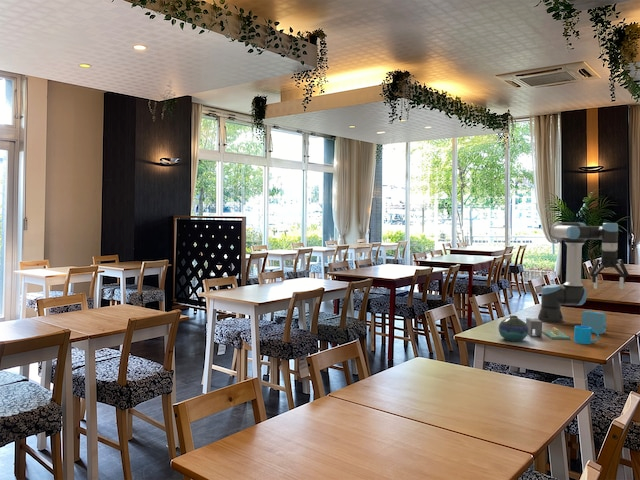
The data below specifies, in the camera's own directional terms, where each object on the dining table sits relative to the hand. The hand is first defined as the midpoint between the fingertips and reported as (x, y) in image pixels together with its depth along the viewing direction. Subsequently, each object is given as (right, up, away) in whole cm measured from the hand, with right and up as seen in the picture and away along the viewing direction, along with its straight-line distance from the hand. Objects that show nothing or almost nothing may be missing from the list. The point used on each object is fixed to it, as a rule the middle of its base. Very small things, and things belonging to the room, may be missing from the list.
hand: (608, 288), depth 276 cm
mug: (-16, -29, -8) cm, 34 cm away
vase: (-54, -28, -3) cm, 61 cm away
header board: (-26, -28, +7) cm, 39 cm away
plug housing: (-38, -28, +8) cm, 48 cm away
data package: (+1, -28, +17) cm, 33 cm away
